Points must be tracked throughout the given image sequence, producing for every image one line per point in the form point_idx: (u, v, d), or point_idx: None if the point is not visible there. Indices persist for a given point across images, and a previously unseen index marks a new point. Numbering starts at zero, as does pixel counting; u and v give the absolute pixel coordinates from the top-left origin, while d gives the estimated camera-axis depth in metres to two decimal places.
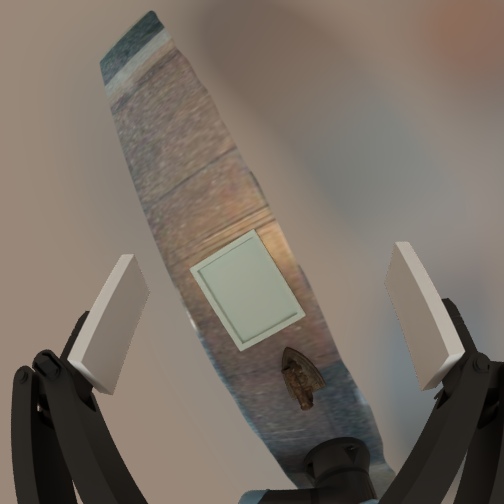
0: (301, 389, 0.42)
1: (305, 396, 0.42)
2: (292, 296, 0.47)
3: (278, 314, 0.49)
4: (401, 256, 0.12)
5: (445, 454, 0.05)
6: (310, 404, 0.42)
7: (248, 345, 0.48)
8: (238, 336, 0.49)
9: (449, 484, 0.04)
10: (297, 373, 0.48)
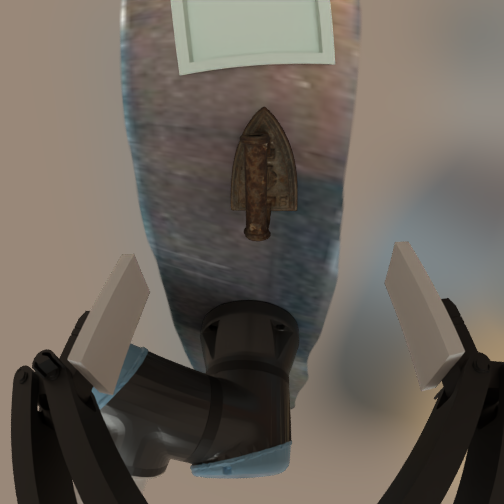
0: (263, 193, 0.22)
1: (264, 212, 0.22)
2: (328, 21, 0.16)
3: (283, 40, 0.19)
4: (401, 256, 0.12)
5: (445, 454, 0.05)
6: (265, 232, 0.24)
7: (200, 68, 0.20)
8: (189, 47, 0.19)
9: (449, 484, 0.04)
10: None
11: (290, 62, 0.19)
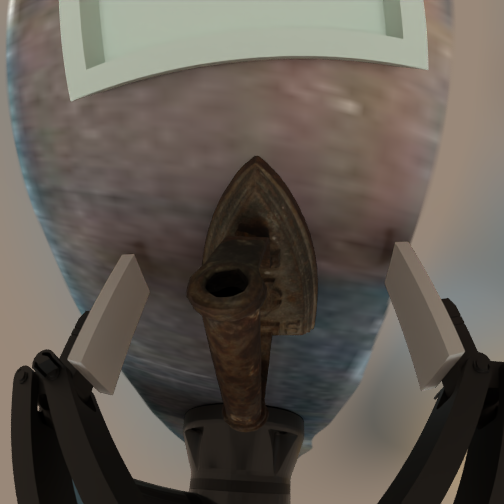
0: (253, 384, 0.09)
1: (256, 402, 0.10)
2: None
3: (306, 4, 0.07)
4: (401, 256, 0.12)
5: (445, 454, 0.05)
6: (259, 419, 0.11)
7: (107, 79, 0.08)
8: (91, 36, 0.07)
9: (449, 484, 0.04)
10: None
11: (327, 53, 0.07)
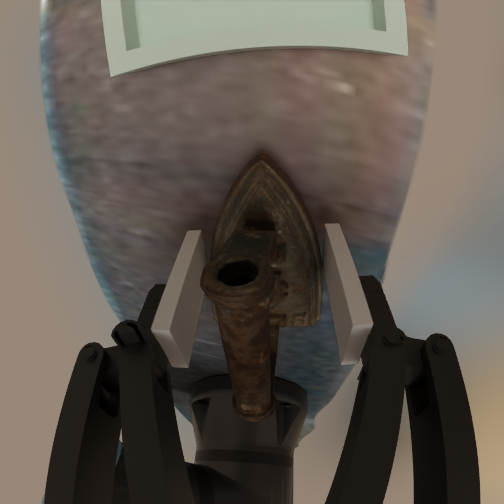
0: (263, 372, 0.10)
1: (265, 390, 0.11)
2: None
3: (308, 4, 0.09)
4: (328, 236, 0.13)
5: (374, 437, 0.06)
6: (269, 408, 0.12)
7: (145, 59, 0.09)
8: (129, 24, 0.09)
9: (391, 465, 0.05)
10: None
11: (324, 44, 0.09)
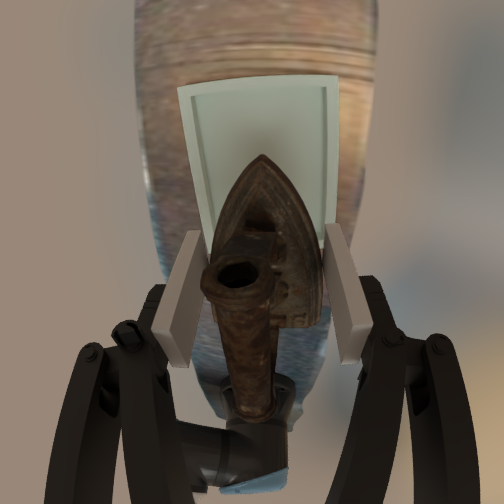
0: (263, 374, 0.10)
1: (265, 392, 0.11)
2: (333, 213, 0.26)
3: None
4: (327, 236, 0.13)
5: (374, 437, 0.06)
6: (269, 409, 0.12)
7: None
8: (214, 229, 0.29)
9: (391, 465, 0.05)
10: None
11: None
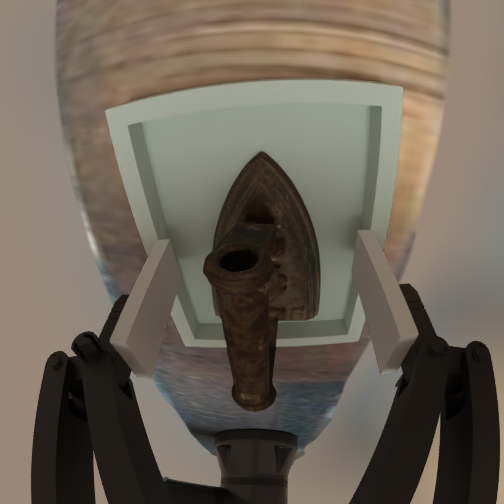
0: (262, 360, 0.11)
1: (264, 379, 0.11)
2: None
3: None
4: (362, 243, 0.13)
5: (410, 443, 0.05)
6: (268, 398, 0.12)
7: (207, 344, 0.20)
8: (191, 319, 0.19)
9: (421, 472, 0.05)
10: None
11: (309, 344, 0.20)
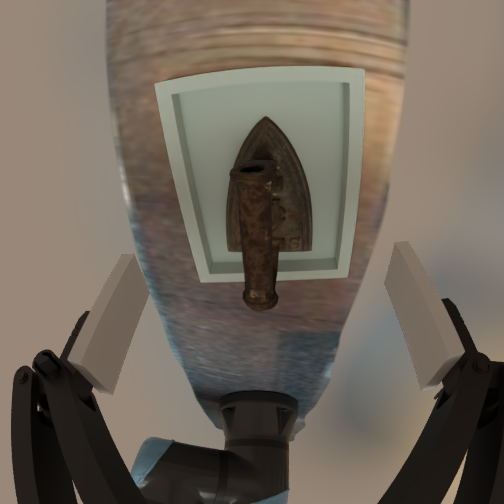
0: (267, 252, 0.15)
1: (269, 275, 0.16)
2: (350, 240, 0.21)
3: None
4: (401, 256, 0.12)
5: (445, 454, 0.05)
6: (271, 299, 0.17)
7: (219, 279, 0.25)
8: (207, 256, 0.24)
9: (449, 484, 0.04)
10: None
11: (305, 278, 0.24)
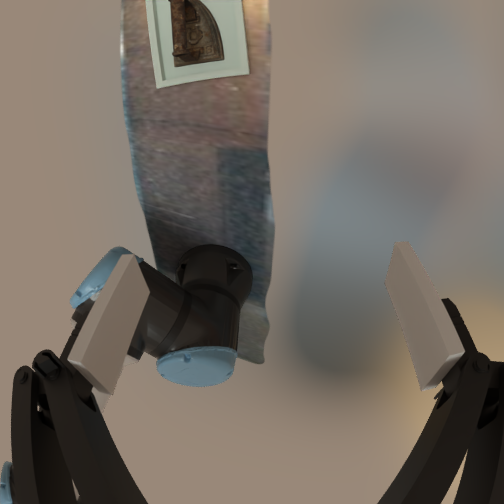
0: (182, 24, 0.23)
1: (183, 36, 0.24)
2: (244, 47, 0.30)
3: (218, 62, 0.32)
4: (401, 256, 0.12)
5: (445, 454, 0.05)
6: (185, 49, 0.25)
7: (168, 84, 0.33)
8: (162, 71, 0.32)
9: (449, 484, 0.04)
10: (192, 26, 0.27)
11: (221, 76, 0.32)
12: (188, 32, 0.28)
